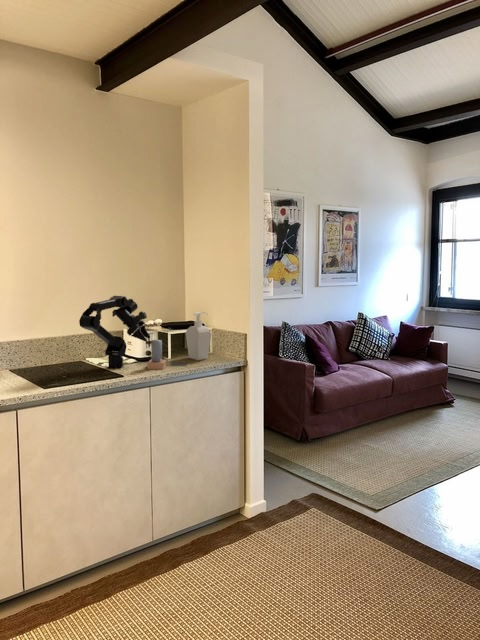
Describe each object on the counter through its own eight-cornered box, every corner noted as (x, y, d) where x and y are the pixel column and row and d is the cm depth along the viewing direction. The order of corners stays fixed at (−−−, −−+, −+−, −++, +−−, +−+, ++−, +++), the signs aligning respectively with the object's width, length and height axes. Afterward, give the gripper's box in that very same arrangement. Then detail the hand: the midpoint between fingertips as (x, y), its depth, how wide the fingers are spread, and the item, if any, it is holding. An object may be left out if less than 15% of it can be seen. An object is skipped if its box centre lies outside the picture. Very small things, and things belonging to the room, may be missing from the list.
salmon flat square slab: (147, 369, 260) (147, 362, 260) (150, 366, 268) (150, 359, 268) (163, 369, 260) (163, 362, 260) (166, 366, 268) (166, 359, 268)
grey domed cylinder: (149, 361, 262) (149, 341, 261) (154, 359, 267) (154, 339, 266) (159, 362, 260) (159, 341, 259) (163, 360, 265) (163, 340, 264)
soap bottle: (213, 359, 288) (213, 312, 285) (198, 361, 282) (198, 313, 279) (200, 355, 297) (200, 310, 294) (185, 358, 291) (185, 311, 288)
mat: (168, 366, 267) (168, 366, 267) (171, 363, 276) (171, 362, 276) (186, 367, 267) (186, 366, 267) (188, 363, 276) (188, 362, 276)
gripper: (133, 308, 257) (155, 331, 258) (141, 305, 276) (162, 326, 277) (117, 324, 258) (140, 346, 260) (126, 319, 277) (147, 340, 278)
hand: (148, 339), depth 269 cm, fingers open, 9 cm apart
